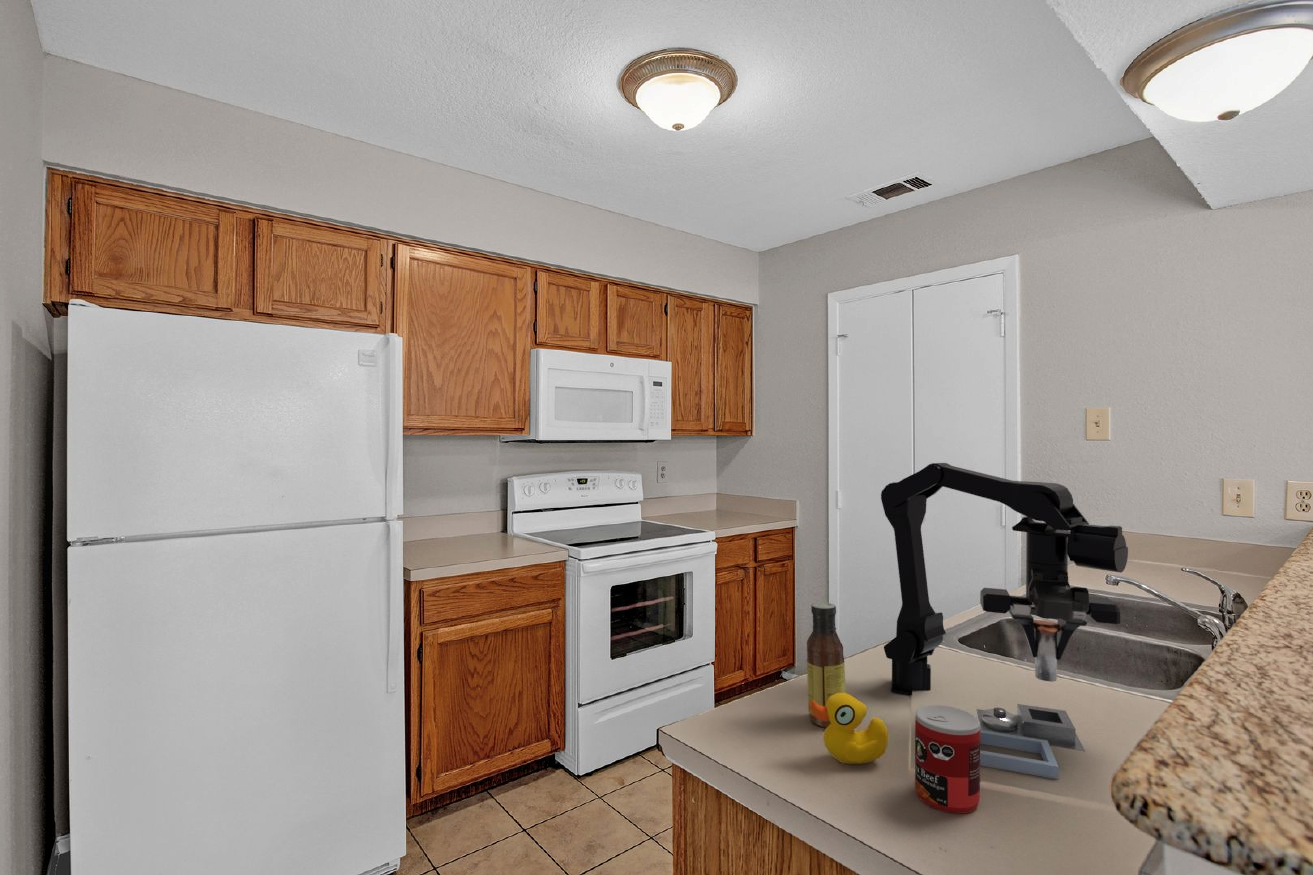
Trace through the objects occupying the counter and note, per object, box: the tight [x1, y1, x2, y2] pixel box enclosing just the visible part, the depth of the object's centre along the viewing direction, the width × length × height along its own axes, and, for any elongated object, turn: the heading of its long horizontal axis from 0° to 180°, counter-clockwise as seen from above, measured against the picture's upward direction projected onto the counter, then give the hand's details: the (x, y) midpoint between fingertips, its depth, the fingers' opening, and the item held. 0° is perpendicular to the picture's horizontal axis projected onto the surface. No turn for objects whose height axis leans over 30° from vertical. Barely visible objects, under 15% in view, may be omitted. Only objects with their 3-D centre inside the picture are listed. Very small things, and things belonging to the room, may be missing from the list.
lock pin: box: [1034, 619, 1060, 683], centre depth 103 cm, size 4×4×9 cm
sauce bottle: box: [806, 601, 847, 729], centre depth 108 cm, size 7×6×20 cm
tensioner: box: [976, 703, 1086, 752], centre depth 104 cm, size 14×10×3 cm
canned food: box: [914, 704, 982, 814], centre depth 86 cm, size 8×8×11 cm
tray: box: [980, 729, 1060, 780], centre depth 95 cm, size 11×8×2 cm
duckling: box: [810, 692, 889, 765], centre depth 95 cm, size 11×5×10 cm, turn 85°
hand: (1045, 657), depth 103 cm, fingers closed on lock pin, 3 cm apart
